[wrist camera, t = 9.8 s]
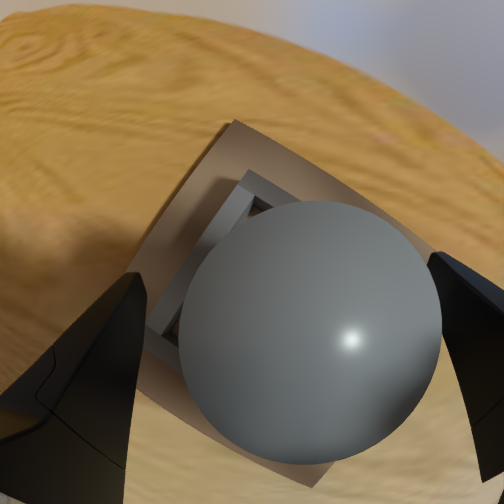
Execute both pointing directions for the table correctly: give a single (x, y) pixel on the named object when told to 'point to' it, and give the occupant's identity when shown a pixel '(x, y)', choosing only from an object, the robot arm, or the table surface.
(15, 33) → the table surface
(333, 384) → the grey cylinder
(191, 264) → the jig board
